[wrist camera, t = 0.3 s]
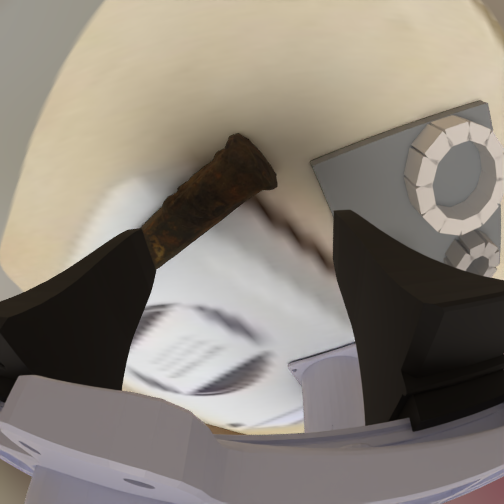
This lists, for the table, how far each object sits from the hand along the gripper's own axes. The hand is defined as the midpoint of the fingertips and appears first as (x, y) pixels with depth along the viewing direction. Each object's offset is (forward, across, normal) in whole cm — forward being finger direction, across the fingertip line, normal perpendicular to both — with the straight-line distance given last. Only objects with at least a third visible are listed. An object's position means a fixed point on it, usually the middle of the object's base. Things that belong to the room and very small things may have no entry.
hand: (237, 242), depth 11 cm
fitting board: (+10, -13, +5) cm, 17 cm away
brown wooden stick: (+10, +7, +5) cm, 13 cm away
